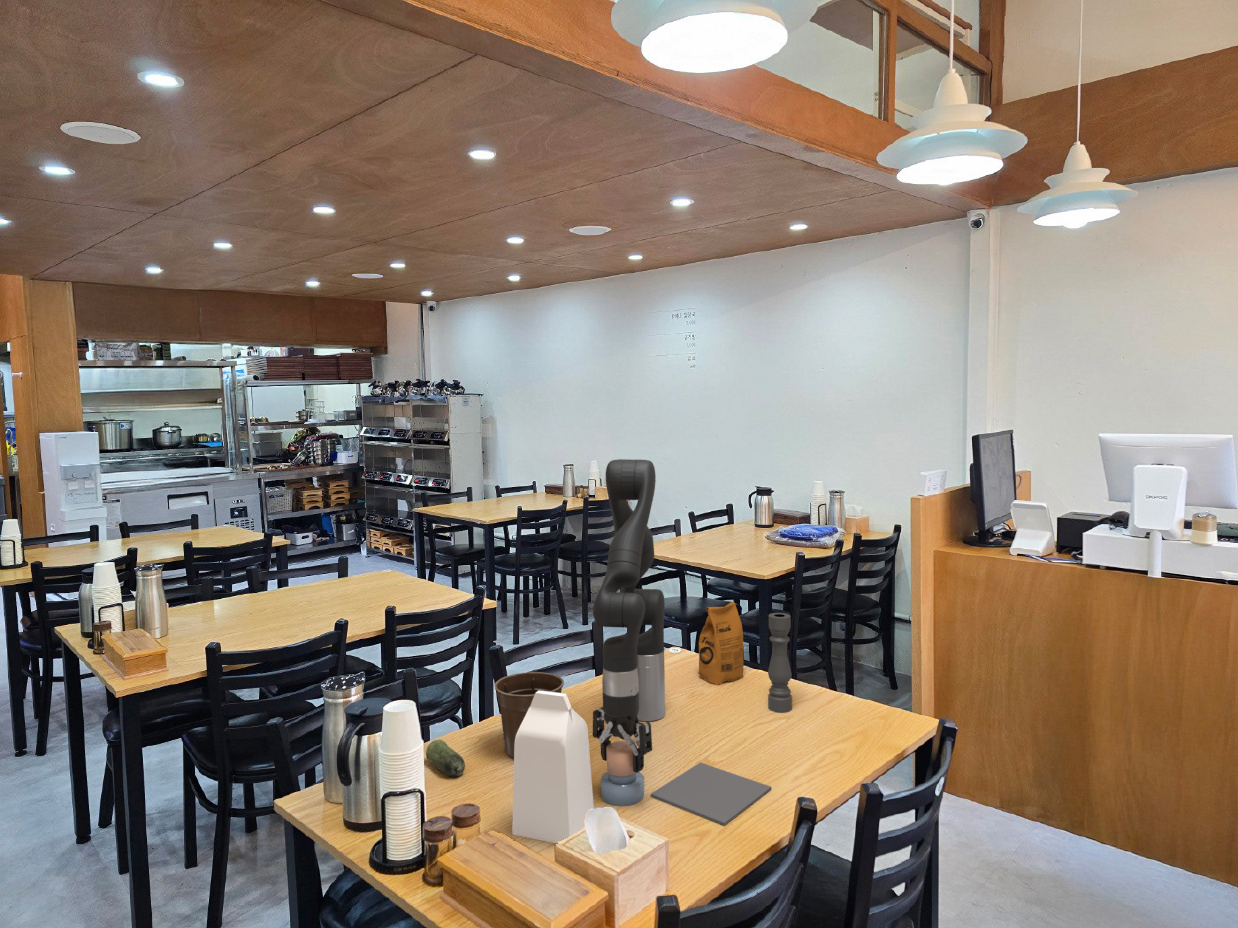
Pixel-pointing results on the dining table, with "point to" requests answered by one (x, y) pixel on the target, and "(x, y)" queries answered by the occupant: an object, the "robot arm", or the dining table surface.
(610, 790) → the sugar pot
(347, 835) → the dining table surface
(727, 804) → the mat
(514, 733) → the plant pot
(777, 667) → the candle holder
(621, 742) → the lid
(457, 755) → the vegetable
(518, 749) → the milk
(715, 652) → the coffee package
